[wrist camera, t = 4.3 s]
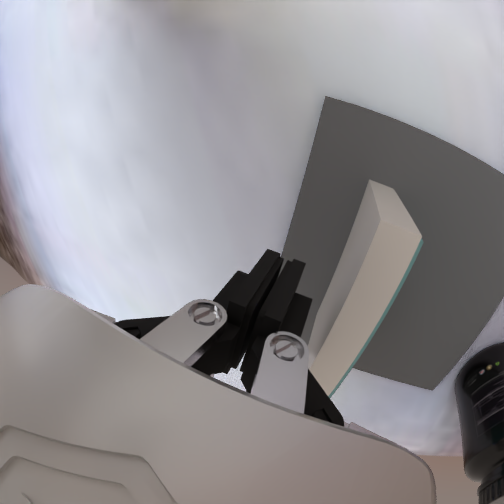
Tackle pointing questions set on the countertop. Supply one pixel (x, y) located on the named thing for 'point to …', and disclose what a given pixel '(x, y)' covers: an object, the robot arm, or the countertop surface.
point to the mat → (428, 223)
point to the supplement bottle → (483, 421)
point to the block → (363, 284)
